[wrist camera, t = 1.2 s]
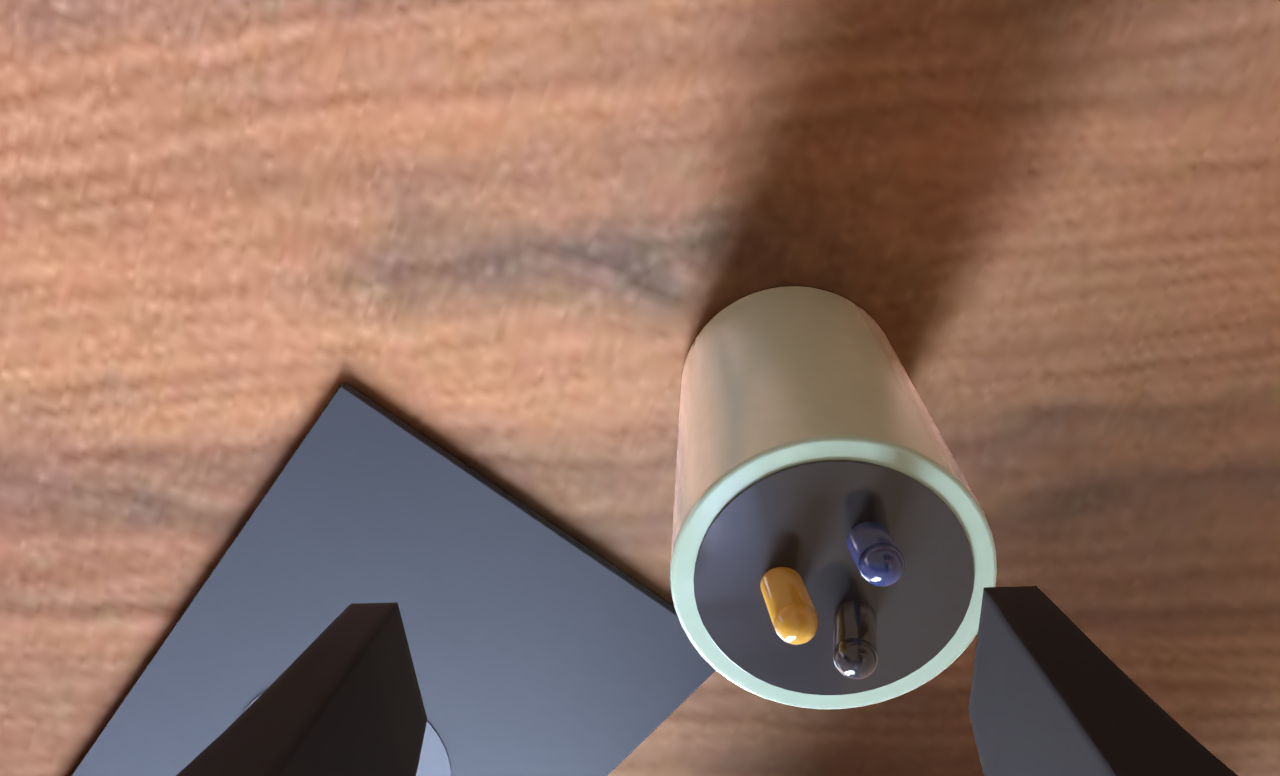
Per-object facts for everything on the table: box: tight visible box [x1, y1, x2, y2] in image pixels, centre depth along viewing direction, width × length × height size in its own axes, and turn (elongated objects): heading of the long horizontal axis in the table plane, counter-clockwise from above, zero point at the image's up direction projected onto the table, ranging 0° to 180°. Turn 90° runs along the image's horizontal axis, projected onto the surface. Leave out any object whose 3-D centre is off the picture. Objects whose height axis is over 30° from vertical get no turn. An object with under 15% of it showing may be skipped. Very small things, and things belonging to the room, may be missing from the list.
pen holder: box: [670, 286, 997, 709], centre depth 19 cm, size 5×5×10 cm
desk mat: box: [72, 382, 716, 776], centre depth 29 cm, size 13×22×1 cm, turn 142°
